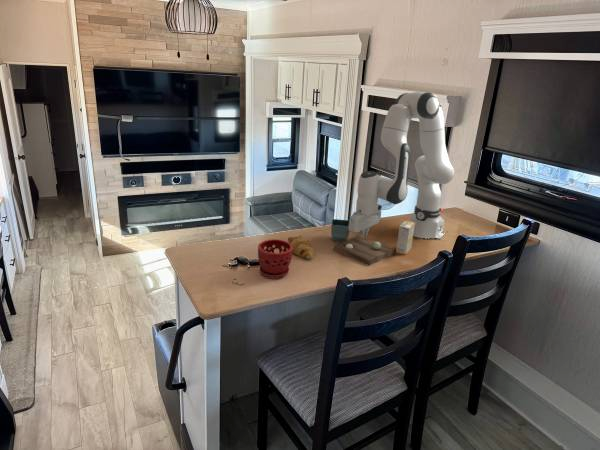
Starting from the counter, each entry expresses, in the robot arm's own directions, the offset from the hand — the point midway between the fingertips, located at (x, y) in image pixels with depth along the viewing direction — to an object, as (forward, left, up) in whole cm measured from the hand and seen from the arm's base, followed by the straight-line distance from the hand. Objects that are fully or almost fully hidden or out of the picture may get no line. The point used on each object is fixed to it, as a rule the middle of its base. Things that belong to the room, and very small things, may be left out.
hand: (363, 236), depth 190 cm
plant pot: (+50, -6, -5) cm, 50 cm away
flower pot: (+3, -12, -5) cm, 13 cm away
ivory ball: (+9, -1, -3) cm, 10 cm away
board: (+6, +4, -5) cm, 8 cm away
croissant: (+27, -14, -5) cm, 31 cm away
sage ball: (+3, +9, -1) cm, 10 cm away
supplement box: (-10, +15, -5) cm, 19 cm away
